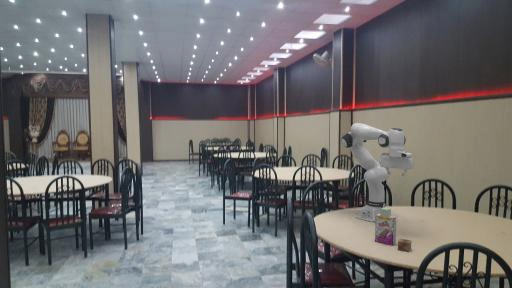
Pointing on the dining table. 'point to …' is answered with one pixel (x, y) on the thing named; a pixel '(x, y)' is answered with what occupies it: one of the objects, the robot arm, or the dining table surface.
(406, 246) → the walnut block
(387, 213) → the sage cube
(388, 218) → the candy bar box
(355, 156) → the robot arm
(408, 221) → the dining table surface
